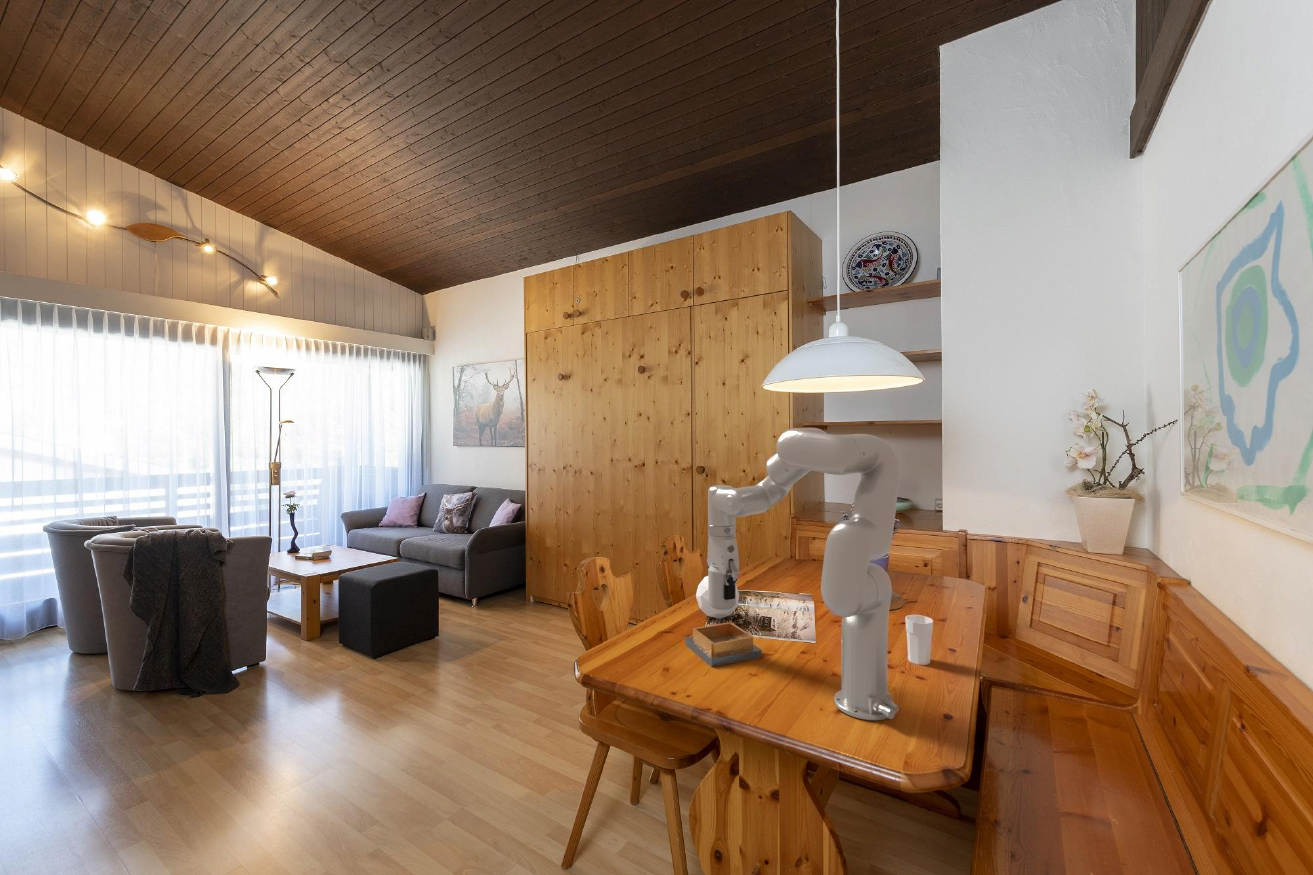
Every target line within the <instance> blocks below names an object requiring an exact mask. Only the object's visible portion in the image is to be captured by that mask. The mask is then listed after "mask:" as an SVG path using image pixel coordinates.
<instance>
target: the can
mask: <svg viewBox="0 0 1313 875" xmlns="http://www.w3.org/2000/svg"><path fill="white" fill-rule="evenodd" d="M707 569H708V570H707V572H708V575H707V576H708V603H709V604H710V605H711V607H712V608H714V609H718V610H728V609H731V608H733V606H735V604H736V586H737V583H736V584H735V599H730V600H725V599H724V585H725V581H724V576H723V575H722V574H721V572H720V571H719V569H718V566H715V565H713V564H712V563H711V566H710V567H709V568H708V567H707ZM730 572H731V570H726V573H730ZM727 577H728V579H729V578H730V577H731V575H728V576H727Z"/></svg>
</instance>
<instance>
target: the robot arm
mask: <svg viewBox="0 0 1313 875" xmlns="http://www.w3.org/2000/svg"><path fill="white" fill-rule="evenodd" d="M775 450H776V453H774V454H773V455H772V456H771V457H769V458H768V459H767V460H766V463H765V468H766V472H767V474H768V475H767V476H766V477H765V478H764V479H762V480H761V481H760V482H759V483H757V484H756V485H748V486H742V487H737V488H736V487H735V488H734V486H732V485H724V484H718V485H716V484H715V485H712V486H709V488H708V489H707V490H708V491H707V517H708V518H707V537H708V543H707V558H706V559H705V560H706V561H705V562H706V564H707V569H708V568H709V567H710V566H711V563H712V564H713V565H715V566H718V569H719V571H720V572H721V574H722V575H723V576H724V581H725V585H724V599H725V600H730V599H735V584H736V585H737V582H738V578H739V576H740V572H739V570H740V562H739V561H740V559H739V549H738V541H737V540H738V539H737V537H736V536H737V534H736V533H737V532H736V531H737V528H736V527H737V524H736V522H737V520H736V518H743V517H748V516H752V515H758V514H763V513H766V512H767V511H768V510H770V509H772V507H774V506H776V505H777V504H778V503H780V502H781V501H782V500H784V499H785V497H786V496H787V495H788V494H789V492H790V491H791V488H792V486H793V485H795V483H796V482H798V481H799V480H800V479H802V478H803V477H804V476H806V475H807V474H808V473H810V472H811V471H813V472H816V473H817V472H818V473H821V474H822V473H823V474H827V475H834V476H835V475H836V476H845V475H852V474H858V473H859V474H860V480H859V482H858V485H857V487H856V490H855V494H854V497H853V498H854V500H853V501H854V503H853V509H852V514H851V517H850V519H846V520H843V521H840V522H838V523H836V524H835V525H834V526H833V527H832V528H831V530H830V531H829V534H828V535H827V538H826V542H825V547H824V554H823V555H824V557H823V563H822V572H821V583H820V594H821V598H822V601H823V603H824V605H825V607H826V608H827V610H829V611H830V613H831V614H833V615H834V616H837V617H840V618H842V619H841V689H840V690H839V691H837V692H836V693H835V694H834V697H833V699H834V700H833V703H834V705H835V706H836V708H838V710H839V711H841V712H843V713H844V714H846V715H848V716H850V717H854V718H855V719H860V720H866V721H882V720H886V719H890V720H892V719H894V718H895V717H896V716H895V715H896V713H898V712H900V707H899V706H898V705H897V704H895V702H894V701H893V700H892V693H891V692H889V691H888V639H889V638H888V637H889V635H888V634H889V614H890V609H891V608H890V607H891V601H892V595H893V594H892V593H893V586H892V581H891V578H890V576H889V574H888V573H887V571H886V570H885V569H884V568H883V567H882V566H881V565H878V564H877V563H873V562H874V561H877V560H879V559H881V558H883V557H884V556H886V555H887V554H889V552H890V551H891V548H892V543H893V537H894V536H893V535H894V529H895V528H894V527H895V519H896V513H897V502H898V493H899V487H900V482H901V465H900V461H899V457H898V456H897V454H896V452H895V450H894V449H893V448H892V446H891V445H890V444H889V443H888V442H886V441H885V440H884V439H882V438H881V437H878V436H876V435H872V434H867V433H855V434H854V433H853V434H852V433H851V434H830V433H828V432H826V431H824V430H823V429H821V428H816V427H793V428H789V429H787V430H785V431H784V432H782V434H780V436H779V437H778V439H777V441H776V444H775ZM726 570H731V572H730V573H726ZM728 575H731V577H730V578H729V579H728V577H727V576H728Z"/></svg>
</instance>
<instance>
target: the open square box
mask: <svg viewBox="0 0 1313 875" xmlns="http://www.w3.org/2000/svg"><path fill="white" fill-rule="evenodd" d="M684 642H685V646H687V647H688V648H689V649H690V650H691V651H692V652H694V653H695V655H696V656H698V657H699V658H700V659H702V660H703V661H704V662H705V663H706V664H708V665H709V666H710V667H711V668H714V667H715V668H716V667H719V666H723V665H729V664H735V663H740V662H744V661H750V660H754V659H755V660H756V659H760V658H762V657H763V651H762V649H761V648H760V647H758V646H757V645H755V644H754V637H753V635H751V633H749V632H747V631H745V629H742V628H741V627H740V626H738V625H736V624H735V623H733V622H723V623H718V624H711V625H705V626H700V627H693V629H692V635H691V636H686V637H685V641H684Z"/></svg>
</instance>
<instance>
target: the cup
mask: <svg viewBox="0 0 1313 875" xmlns="http://www.w3.org/2000/svg"><path fill="white" fill-rule="evenodd" d="M904 617H905V621H904V622H905V630H906V642H907V643H906V644H907V645H906V646H907V647H906V648H907V660H908V661H909V662H910V663H912V664H915V665H919V666H924V665H925V666H926V665H929V664H930V663H931V654H932V653H931V652H932V650H931V649H932V634H933V631H934V630H933V629H934V619H933V618H931V617H929V616H925V615H921V614H909V615H906V616H904Z"/></svg>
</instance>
